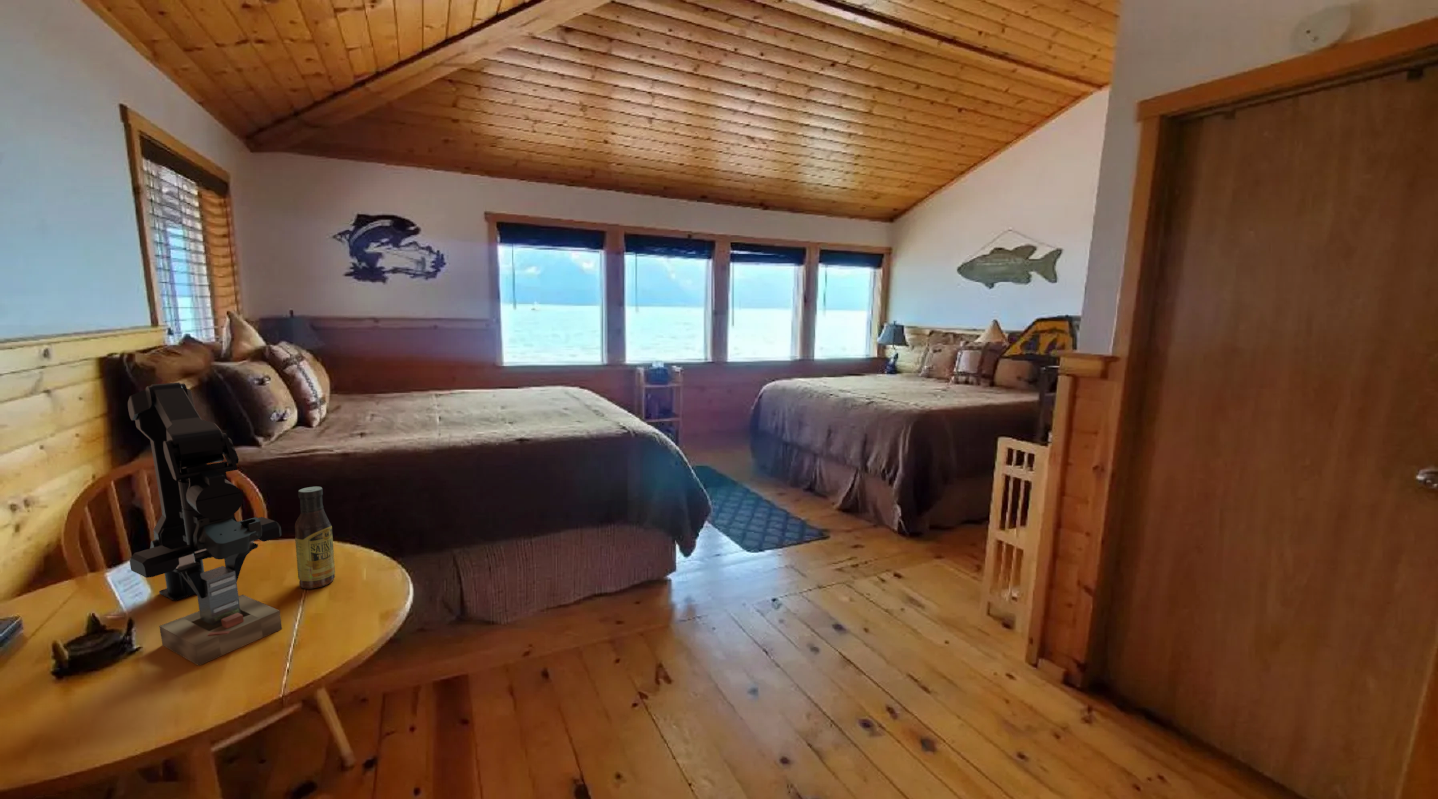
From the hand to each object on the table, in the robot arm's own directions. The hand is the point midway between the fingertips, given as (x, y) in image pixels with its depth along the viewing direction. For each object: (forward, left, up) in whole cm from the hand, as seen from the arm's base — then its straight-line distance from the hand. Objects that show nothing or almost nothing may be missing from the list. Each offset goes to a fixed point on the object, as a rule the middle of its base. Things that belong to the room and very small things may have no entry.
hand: (217, 592), depth 101 cm
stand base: (0, 0, -8) cm, 8 cm away
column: (0, 0, -4) cm, 4 cm away
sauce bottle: (-6, +19, -8) cm, 22 cm away
